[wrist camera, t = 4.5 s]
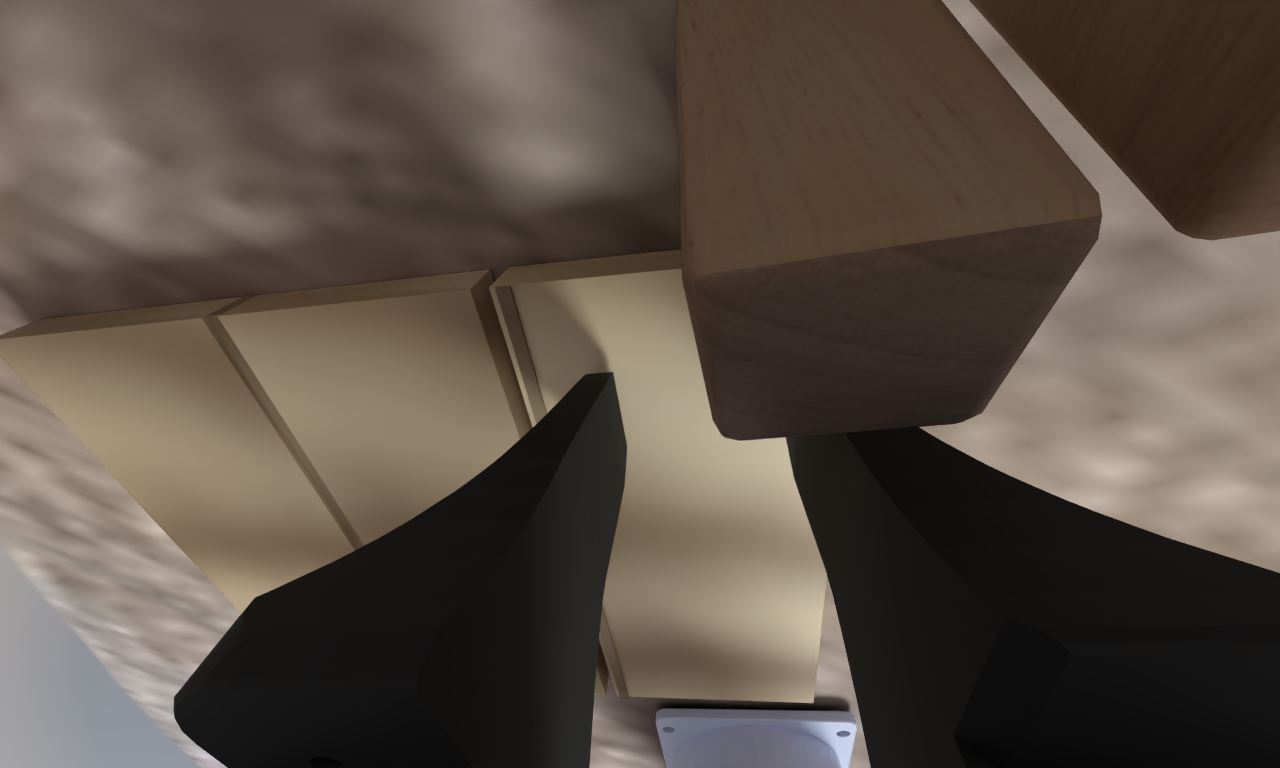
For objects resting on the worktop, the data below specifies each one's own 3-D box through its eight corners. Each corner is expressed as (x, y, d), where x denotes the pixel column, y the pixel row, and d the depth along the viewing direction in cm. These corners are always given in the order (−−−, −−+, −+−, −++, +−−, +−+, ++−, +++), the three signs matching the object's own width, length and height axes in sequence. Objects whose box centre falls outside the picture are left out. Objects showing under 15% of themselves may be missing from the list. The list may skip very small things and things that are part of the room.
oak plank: (807, 667, 18) (814, 705, 17) (620, 663, 19) (616, 698, 18) (842, 232, 10) (860, 252, 9) (508, 267, 11) (487, 288, 10)
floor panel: (610, 663, 19) (606, 696, 18) (333, 662, 21) (315, 692, 20) (490, 269, 11) (470, 289, 10) (42, 318, 12) (-15, 340, 11)
